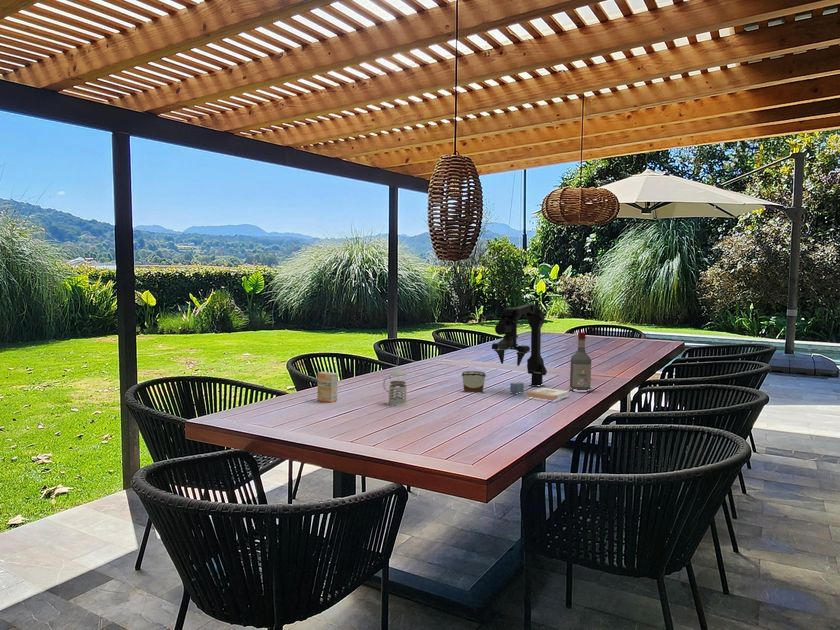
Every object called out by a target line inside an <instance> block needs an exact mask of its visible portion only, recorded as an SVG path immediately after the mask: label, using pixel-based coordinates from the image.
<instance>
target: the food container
mask: <svg viewBox="0 0 840 630" xmlns="http://www.w3.org/2000/svg"><path fill="white" fill-rule="evenodd" d="M460 376H461V377H462V384H463V393H470V392H483V393H484V385H485V378H487V374H486V372H484V371H480V370H465V371H463V372H462V373H461V375H460Z"/></svg>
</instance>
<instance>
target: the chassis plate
mask: <svg viewBox="0 0 840 630" xmlns="http://www.w3.org/2000/svg"><path fill="white" fill-rule="evenodd" d="M566 395H570V391H569V390H562V389H555V388H551V387H550V388H549V387H539V388H536V389H533V390H529V391H527V392H526V398H527V397H533V398H540V399H547V400H555V399H558V398H561V397H563V396H566Z"/></svg>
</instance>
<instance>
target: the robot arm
mask: <svg viewBox="0 0 840 630" xmlns="http://www.w3.org/2000/svg"><path fill="white" fill-rule="evenodd" d="M523 315H525V317H526V318H527V323H528V325H529V327H530V329H531V330H530V331H531V332H530V333H531V334H530V339H531V340H530V346H529V345H524V344H523V345H522V344H521V345H519V343H517V339H518V338H519V335H518V334H517V333H518V331H517V330H518V325H519V324H520V323H519V321H518V320H519V319H520V318H521V316H523ZM545 319H546V316H545V313H544V312H543V310H542V309H541V308H539V307H537V305H536V304H535V303H525V304H523V305H519V306H515V307H505V308H504V309H503V311H502V314H501V316H500V318H499V320H498V323H497V324H496V325H495V326H494V331H495V333H496V334H497V335H499V336H500V335H501V336H503V337H502V339H501V340H499V342H494V343H492V344H491V350H493V351H495V353H497V355H498V357H499V361H500V364H501V365H503V364H504V359H505V351H507V350H514V351H516V356H517V357H516V358H517V359H516V361H517V362H516V365H517V367H519V366H520V365H521V363H522V360H523V358H524V356H525V355H526V354H528V353H529V352H530V356H529V358H527V360H526V362H527V365H526V368H527V373H528V374H529V375H530V374H531V381H530V382H531V383H530V384H531V385H541V384H543V382H544V381H543V377H544V376H546V375H547V372H548V370H547V368H546V366H545V365H544V363H545V362H544V359H543V357H542V355H541V350H542V349H541V347H542V346H541V345H542V344H541V343H542V342H541V341H542V339H541V336H542V335H541V333H542V327H543V325H544V324H545V323H544V322H545Z"/></svg>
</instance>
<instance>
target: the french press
mask: <svg viewBox="0 0 840 630" xmlns="http://www.w3.org/2000/svg"><path fill="white" fill-rule="evenodd" d="M396 352H397V363H399V356H400V355H399V354H400V353H399V352H401V349H400V348H396ZM407 374H408V373H407V372H406V371H405V370H404V371H403V370H401V369H395V370H391V371H390V372H389V375H388V376H386V377H385V378H384V379H383V383H382V386H383V389H384V390H385V391H386V392H387V393H388V401H387V403H388V404H390V405H389V406H392V405H404V406H407V405H406V404H408V405H409V402H408V401H407V385H406V383H407V382H406V381H403V380H402V381H401V380H392V381H389V384H390V385H389V386H388V387H389V390H388V389H387V388H386V383H385V382H386V381H387V378H388V379H389V380H391V376H393V377H394V376H395V377H405V376H407ZM388 404H387V405H388Z"/></svg>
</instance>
